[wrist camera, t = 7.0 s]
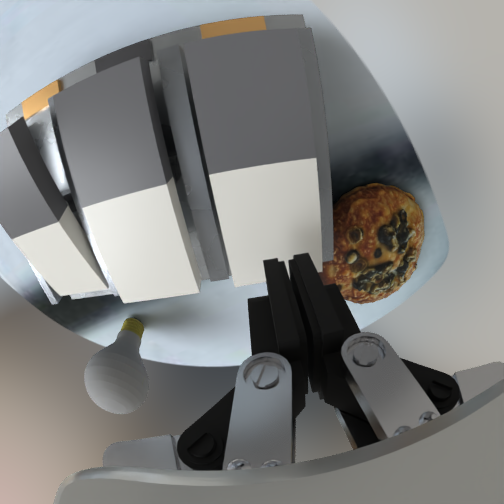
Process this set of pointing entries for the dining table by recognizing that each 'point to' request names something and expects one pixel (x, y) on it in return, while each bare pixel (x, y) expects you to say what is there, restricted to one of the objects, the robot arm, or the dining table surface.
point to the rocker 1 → (43, 217)
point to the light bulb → (119, 372)
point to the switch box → (178, 137)
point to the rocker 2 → (127, 182)
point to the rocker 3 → (258, 147)
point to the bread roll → (374, 242)
